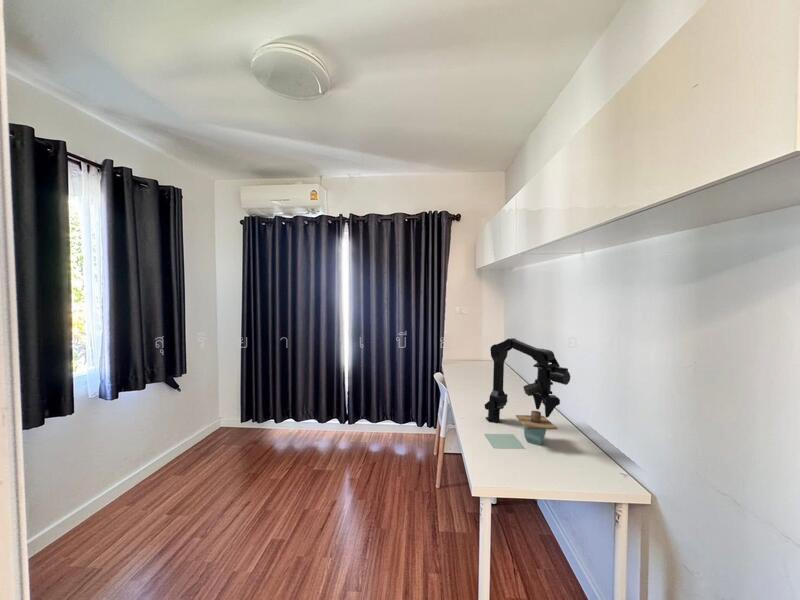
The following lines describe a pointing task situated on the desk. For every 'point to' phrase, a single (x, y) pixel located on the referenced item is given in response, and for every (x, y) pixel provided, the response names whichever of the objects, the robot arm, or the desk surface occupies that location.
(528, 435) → the flower pot
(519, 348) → the robot arm
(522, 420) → the lid
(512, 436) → the mat
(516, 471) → the desk surface
